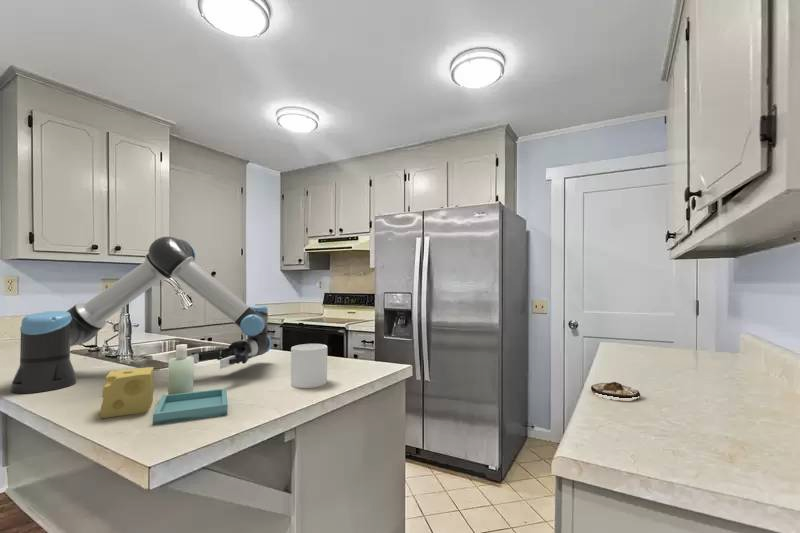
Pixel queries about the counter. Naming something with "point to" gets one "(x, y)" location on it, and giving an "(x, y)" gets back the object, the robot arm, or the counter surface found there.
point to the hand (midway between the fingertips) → (201, 363)
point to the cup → (308, 365)
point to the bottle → (180, 371)
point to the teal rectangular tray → (190, 406)
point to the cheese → (127, 392)
